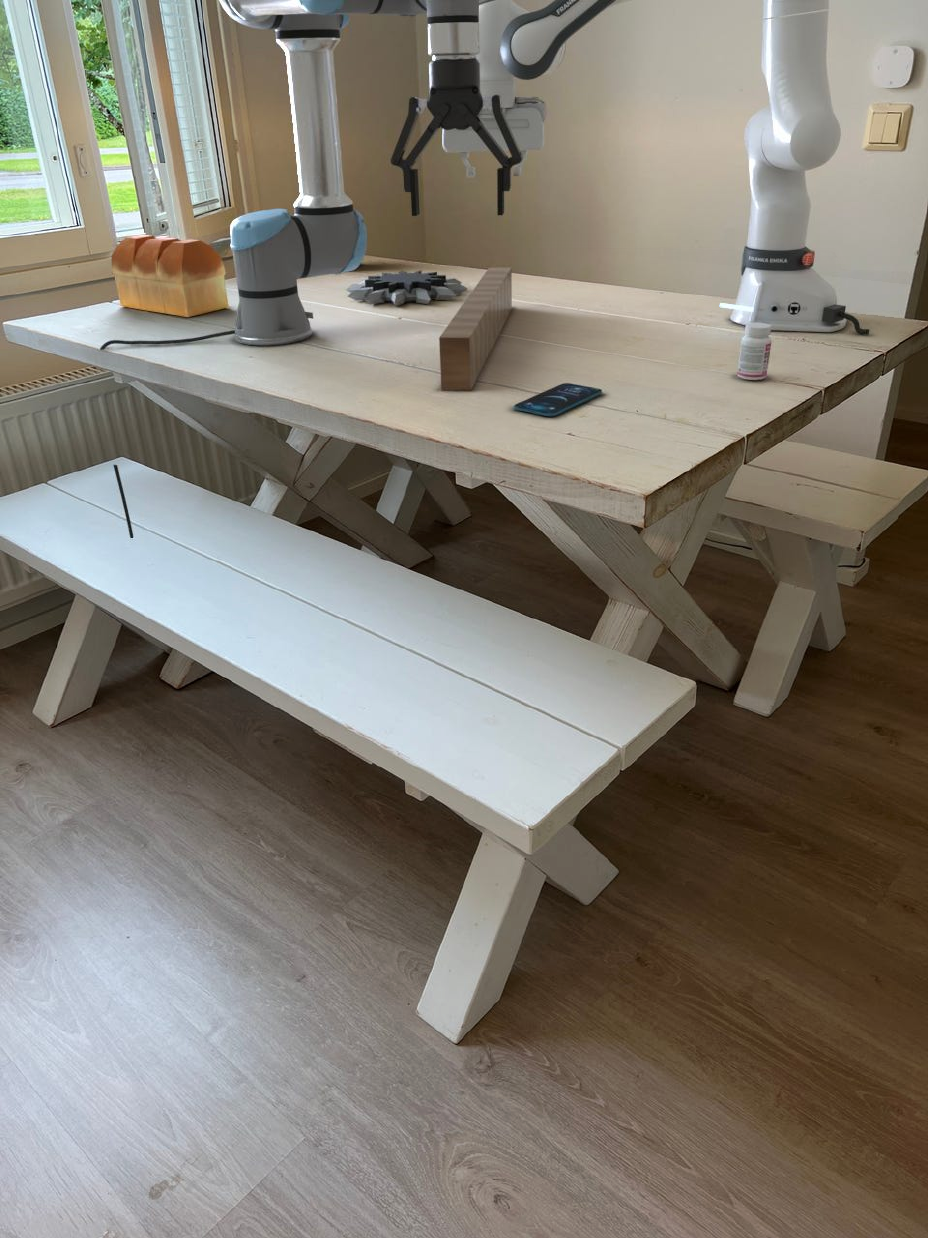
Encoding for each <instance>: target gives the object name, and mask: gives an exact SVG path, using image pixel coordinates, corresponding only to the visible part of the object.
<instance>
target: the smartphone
mask: <svg viewBox="0 0 928 1238" xmlns="http://www.w3.org/2000/svg"><path fill="white" fill-rule="evenodd" d="M602 393H603V389H601V388H597V387H592V386H586V385H582V384H576V383H570V382H565V383H560V384H557V385H556V386H553V387H551V388H549V389H547V390H544V391H542V392H541V393H538V394H535V395H534V396H531V397H529V398H527V399H524V400H523V401H520V402H518V403H515V404H514V405H513V409H514V410H517V411H520V412H525V413H530V414H535V415H540V416H545V417H556V416H558V415H560V414H562V413H565V412H566V411H568V410H570V409H572V408H574V407H576V406H578V405H581V404H582V403H585V402H587V401H589V400H591V399H593V398H595V397H597V396H599V395H601V394H602Z"/></svg>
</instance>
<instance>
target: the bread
mask: <svg viewBox="0 0 928 1238" xmlns="http://www.w3.org/2000/svg"><path fill="white" fill-rule="evenodd" d="M111 274H112V275H113V276H114V279H115V285H116V289H117V295H118V299H119V304H120V307H124V308H129V309H135V310H141V311H142V310H143V311H147V312H148V311H149V312H155V313H161V314H165V315H166V314H168V315H172V316H173V315H174V316H180V317H185V318H191V317H195V316H198V315H203V314H207V313H211V312H215V311H219V310H222V309H227V308H230V306H229V299H228V293H227V286H226V280H225V279H226V278H225V275H226V274H227V271H226V268H225V265H224V262H223V259H222V256H221V255H220V254H219V253H218V252H217V251H216V250H215V248H213V247H212V246H210V245H209V244H207V243H206V242H204V241H202V240H199V239H191V238H190V239H184V240H181V239H179V238H177V237H167V236H166V237H165V236H161V237H155V236H154V235H151V234H150V235H148V234H139V235H133V236H132V235H131V236H126V237H124V238H123V239H122V240H121V241H120V242H119V243H118V244H117V245H116V246H115V248H114V250H113V252H112V254H111Z"/></svg>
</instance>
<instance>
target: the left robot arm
mask: <svg viewBox="0 0 928 1238" xmlns="http://www.w3.org/2000/svg"><path fill="white" fill-rule="evenodd" d="M218 1H219V3H220V4H221V7H222V8H223V10H224V11H225V13H226V14H227V15H229V17H230V18H231V19H233V20H234V21H236V22H237V23H239V24H241V25H243V26H246V27H249V28H253V29H260V30H274V31H275V40H276V43H277V44H278V45H279V46H280V47H281V48H282V50H283V51H284V52H285V56H286V65H287V76H288V85H289V96H290V104H291V106H290V107H291V115H292V123H293V134H294V144H295V152H296V154H295V155H296V165H297V175H298V183H299V185H298V186H299V193H300V194H299V196H298V198H297V199H295V201H294V203H293V210H294V211H293V212H294V215H291V214H290V212H289V210H288V209H285V208H271V209H263V210H257V211H253V212H249V213H246V214H243V215H240V216H238V217H236V218H235V219H234V220H232V222H231V224H230V228H229V231H230V233H229V234H230V248H231V252H232V259H233V264H234V271H235V272H234V273H235V278H236V279H235V280H236V286H237V293H238V307H237V312H236V318H235V319H236V320H235V323H234V329H232V330H226V331H221V332H216V333H212V334H207V335H201V336H197V337H189V338H180V339H167V340H166V339H165V340H164V339H163V340H123V339H122V340H121V339H111V340H108V341H106V342H104V343H103V345H101V347H100V348H99V350H105V349H106V348H107V347H108V346H111V345H118V344H119V345H131V346H132V345H174V344H184V343H193V342H198V341H204V340H205V341H206V340H209V339H213V338H219V337H224V336H229V335H234V337H235V341H236V342H238V343H240V344H243V345H248V346H279V345H286V344H287V345H288V344H292V343H293V344H294V343H297V342H301V341H305V340H306V339H308V338H310V337H311V336H312V327H311V322H310V320H309V319H311V320H312V319H314V312H310V311H306V310H305V308H304V306H303V303H302V301H301V299H300V296H299V290H298V289H299V288H298V280H301V279H307V278H315V277H320V276H329V275H330V276H331V275H335V276H337V275H338V276H339V275H342V274H343V273H347V272H353V271H355V270H356V269H357V268H359V267H360V265H361V264H362V262H363V260H364V259H365V256H366V252H367V246H368V232H367V226H366V224H365V223H364V221H365V218H364V217H363V215H362V214H361V212H359V211H358V210H356V209H355V208H354V203H353V200H352V199H351V198H350V197H349V196H348V195H347V194H346V192H345V187H344V185H345V184H344V173H343V171H344V170H343V159H342V148H341V135H340V124H339V110H338V109H339V108H338V99H337V98H338V97H337V86H336V84H337V83H336V74H335V73H336V72H335V61H334V60H335V59H334V51H335V48H336V47H337V46H338V45H339V43H340V42H341V31H342V30H343V29H345V27H346V26H347V25H348V23H349V21H350V15H396V16H400V17H411V18H412V17H416V16H418V15H423V14H426V22H427V24H426V25H427V26H426V29H427V50H428V51H427V53H428V54H427V55H428V56H429V57H432V60H430V61H429V63H428V78H429V79H428V81H429V82H428V83H429V84H428V85H429V94H428V97H427V98H422V97H421V98H419V97H418V96H412V97H410V98H409V99H408V109H407V115H406V119H405V121H404V124H403V127H402V129H401V132H400V134H399V137H398V140H397V143H396V145H395V147H394V150H393V153H392V155H391V158H390V164H391V165H392V166H396V167H397V168H400V169H401V170H402V176H403V190H404V192H405V193H410V204H411V205H410V206H411V208H410V209H411V217H418V216H419V215H420V213H421V211H420V189H419V169H418V168H413V167H414V165H415V164H416V162H417V161H418V160H419V158H420V157H421V155H422V154H423V152H424V151H425V150H426V148H427V147H428V146H429V144H430V142H431V141H432V139H433V138H434V137H435V135H436V134H437V133H438V131H439V130H440V129H442V130H443V129H445V130H451V129H454V128H456V129H459V130H465V129H468V128H469V127H472V129H473V130H474V131H475V132H476V133H477V134H478V136H479V137H480V138H481V139H482V141H483V142H484V143H485V145H486V146H487V147H488V149H489V150H490V151H489V152H490V153H491V154H492V155H493V156H494V158H495V159H496V161H498V163H499V164H500V165H501V167H498V168H497V169H496V179H497V180H496V183H497V185H496V186H497V187H496V188H497V189H496V191H497V194H496V195H497V200H496V201H497V203H496V204H497V205H496V206H497V207H496V211H497V212H496V213H497V216H504V214H505V192H510V191H511V188H512V168H513V167H514V166H517V165H518V164H519V163H520V162H521V161H522V160H523V156H522V153H521V151H520V149H519V147H518V144H517V142H516V140H515V138H514V135H513V133H512V131H511V129H510V127H509V124H508V122H507V120H506V118H505V115H504V113H503V110H502V100H501V96H500V95H494V96H493V97H486V98H482V96H481V93H480V62H478V60H476V55H478V54H479V53H480V46H479V23H478V22H479V17H478V16H479V3H480V0H218ZM483 106H486V107H487V108H488V111H489V112H493V114H494V117H495V120H496V122H497V124H498V127H499V129H500V131H501V133H502V136H503V138H504V140H505V142H506V144H507V147H508V149H509V151H508V152H509V153H510V156H508V155H507V153H506V151H503V150H502V148H501V147H500V146H499V144H498V143H497V142H496V141H495V139H494V138H493V137H492V135H491V134H490V133H489V131H488V130H487V129H486V128H485V126H484V124H483V123H482V122H481V120H480V119H479V118H478V114H479V113H480V111H481V109H482V108H483ZM425 108H427V109H428V111H429V113H430V114H431V115H432V117H433V118H432V119H431V121H430V123H429V124H428V125H427V127H426V129H425V130H424V132H423V133H422V135H421V136H420V138H419V139H418V141H416V143H415V145H414V146H413V147H412V149H411V151H410V152H409V154H408V155H407V156H406V158H405V157H404V156H405V153H406V150H407V147H408V145H409V142H410V140H411V138H412V135H413V132H414V130H415V127H416V124H417V122H418V119H419V115H421V114H423V113H424V110H425ZM112 466H113V469H114V473H115V478H116V481H117V486H118V489H119V493H120V497H121V503H122V506H123V510H124V516H125V519H126V525H127V529H128V534H129V538H133V537H134V532H133V527H132V522H131V518H130V517H131V516H130V513H129V509H128V504H127V500H126V496H125V492H124V487H123V483H122V480H121V476H120V471H119V466H118V465H117V464H113V465H112ZM134 538H135V537H134Z"/></svg>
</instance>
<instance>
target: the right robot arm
mask: <svg viewBox="0 0 928 1238" xmlns="http://www.w3.org/2000/svg"><path fill="white" fill-rule="evenodd" d="M630 1H632V0H552V1H551V2H550V3H549V4H548V5H547V6H545V7H543V8H541V9H538V10H535V11H529V10H527V9H525V8H523V7H522V6H520V5H519V4H517V3H515V2H514V1H513V0H483V1H481V2H479V16H478V17H479V22H478V23H479V46H480V53H479V54H478V55H476V60H478V62H480V93H481V96H482V98H486V97H493V96H494V95H500V96H501V100H502V110H503V113H504V115H505V118H506V120H507V122H508V124H509V127H510V129H511V131H512V133H513V135H514V138H515V140H516V142H517V144H518V147H519V149H520V151H521V153H522V156H523V160H522V161H521V162H520V163H519V164H517V165H514V166H512V168H513V169H512V170H513V177H522V171H523V170H522V167H523V165H524V163H525V161H526V160H527V157H528V151H541V150H542V149H543V148H544V147H545V145H546V137H545V136H546V135H545V126H544V122H545V120H546V119H547V104H546V102H545V101H544V100H543V99H541V98H539V96H531V97H529V96H528V97H527V96H516V95H517V94H516V93H517V92H516V86H517V85H516V84H517V83H516V79H519V80H523V81H530V80H535V79H537V78H541V77H544V76H547V75H549V74H551V73H553V72H554V71H555V70H557V68H558V67H559V66H560V65H561V63H562V62H563V59H564V57H565V53H566V42H567V41H568V40H570V38H571V37H573V36H574V35H575V34H577V33H578V32H579V31H580V30H581V29H583V28H584V27H585V26H587V25H588V24H589V23H590V22H592V21H593V20H594V19H595V18H596V17H598V16H599V15H600V14H602V13H603V12H605V11H606V10H608V9H610V8H611V7H614V6H616V5H619V4H622V3H625V2H630ZM762 1H763V2H762V24H761V25H762V31H761V32H762V33H761V60H760V61H761V62H760V63H761V65H760V69H761V73H762V76H763V78H764V80H765V83H766V87H767V92H768V98H769V99H768V100H769V105H767V106H764V107H762V108H761V109H759V110H758V111H757V112H755V113H754V114H753V115H752V116H751V118H750V119H749V120H748V121H747V124H746V126H745V129H744V133H743V143H744V148H745V149H746V152H747V157H748V170H749V172H748V173H749V183H750V184H749V187H750V211H749V221H748V230H747V239H746V245H745V246H744V247H743V252H742V257H741V267H740V271H741V272H740V274H741V275H740V276H741V280H740V285H739V289H738V293H737V296H736V300H735V304H729V303H725V302H724V303H723V302H720V303H719V307H720V308H724V309H732V311H731V314H730V316H729V319H730V320H731V321H732V322H734V323H736V324H738V325H743V326H746V324H748V323H766V324H770V325H771V331H784V332H785V331H790V332H817V333H833V332H837V331H840V330H842V329H844V328H845V327H846V325H847V320H848V321H850V322H851V323H852V324H853V326H854V331H855V332H856V333H857V334H859V335H869V334H870V328H861V326H860V321H859V320H858V318H857V317H855V316H854V315H851V314H849V313H847V312H846V308H847V306H846V305H842V304H838V297H837V292H836V290H835V288H834V287H833V285H832V284H830V283H829V282H828V281H827V280H826V279H825V278H824V277H822V275H820V274H819V273H818V272H817V271H816V270H815V269H814V268H813V267H814V262H815V252H816V251H815V250H814V249H812V250H811V249H810V248H809V247H807V246H806V241H807V235H808V228H809V221H810V214H811V208H812V207H811V198H810V196H809V193H808V189H807V182H806V171H811V170H814V169H817V168H820V167H821V166H823V165H825V164H827V163H828V161H830V160H831V159H832V158H833V156H835V154H836V152H837V151H838V148H839V146H840V142H841V137H842V131H841V125H840V122H839V119H838V118H837V116H836V114H835V111H834V110H833V109H834V108H833V104H832V98H831V90H830V85H829V76H828V66H827V47H828V46H827V45H828V29H829V28H828V27H829V10H830V9H829V8H830V0H762ZM478 118H479V119H480V120H481V122H482V123H483V124H484V126H485V128H486V129H487V130H488V131H489V133H490V134H491V135H492V137H493V138H494V139H495V141H496V142H497V143H498V144H499V146H500V147H501V148H502V150H503V151H504V152H510V151H509V149H508V147H507V144H506V142H505V140H504V138H503V136H502V133H501V131H500V129H499V127H498V124H497V122H496V120H495V117H494V114H493V112H489V111H488V108H487V107H486V106H483V108H482V109H481V111H480V113H479V114H478ZM441 143H442V149H443V150H444V151H445V153H447V154H448V153H451V154H452V153H460V160H461V162H462V163H463V165H464V167H465V168H466V178H475V177H476V172H475V171H476V167H475V166H471V163H470V162H469V160H468V159H469V158H470V153H481V152H485V153H487V152H491V151H490V150H489V149H488V147H487V146H486V145H485V143H484V142H483V141H482V139H481V138H480V137H479V136H478V134H477V133H476V132H475V131H474V130H473V129H472V127H469V128H468V129H465V130H459V129H456V128H454V129H451V130H445V129H443V128H442V142H441Z"/></svg>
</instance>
